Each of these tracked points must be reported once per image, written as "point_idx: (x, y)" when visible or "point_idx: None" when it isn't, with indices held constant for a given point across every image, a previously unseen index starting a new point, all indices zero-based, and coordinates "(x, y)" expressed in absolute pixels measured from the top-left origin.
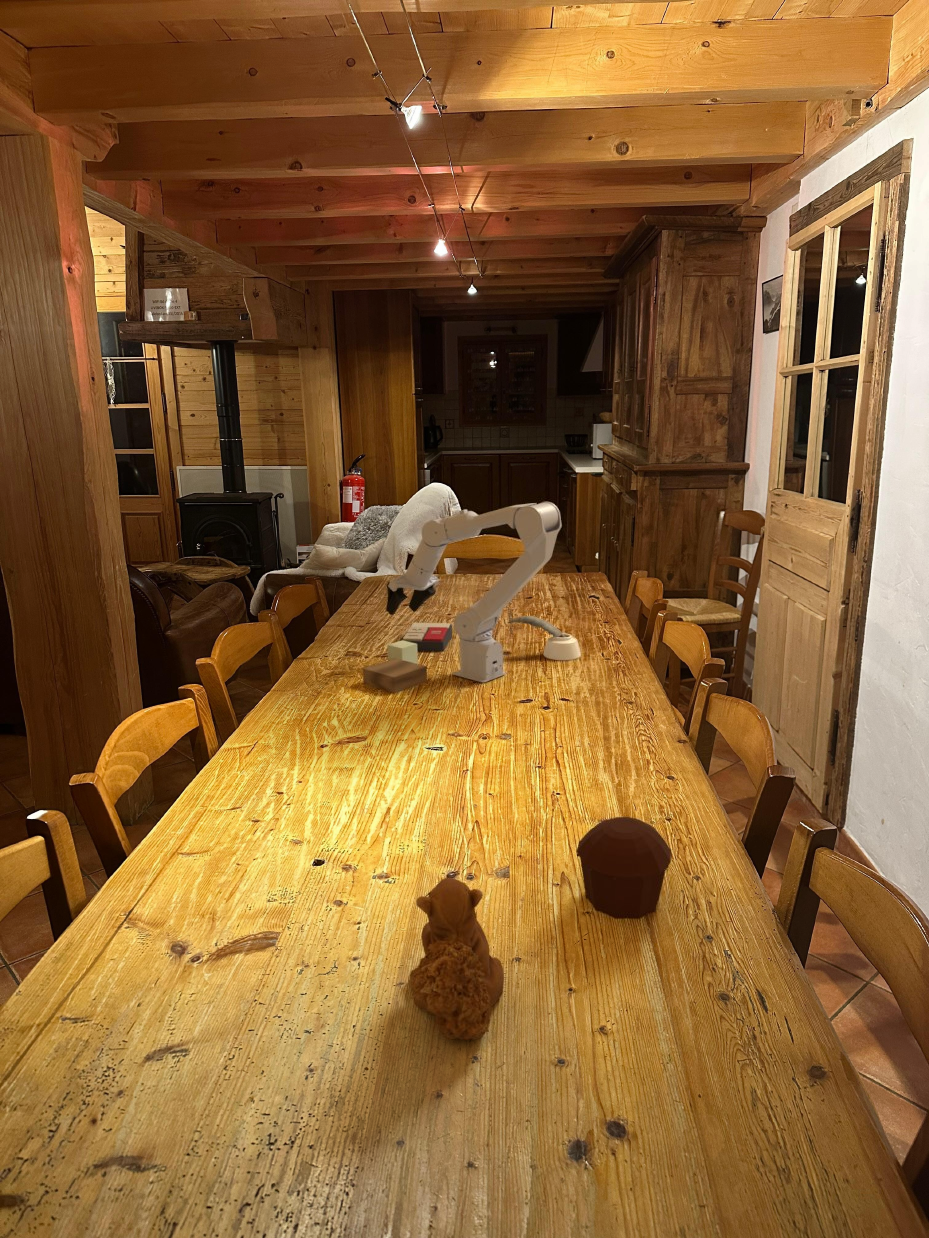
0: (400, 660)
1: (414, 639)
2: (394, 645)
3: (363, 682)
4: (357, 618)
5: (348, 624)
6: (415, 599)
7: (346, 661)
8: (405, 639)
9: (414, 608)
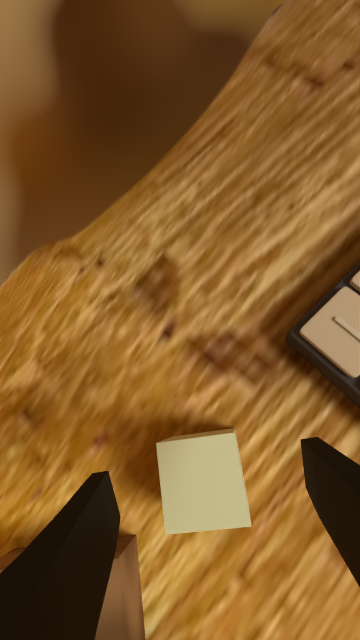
0: (112, 602)
1: (333, 361)
2: (168, 473)
3: (10, 551)
4: (347, 19)
5: (297, 56)
6: (350, 523)
7: (108, 331)
8: (305, 338)
9: (315, 500)
